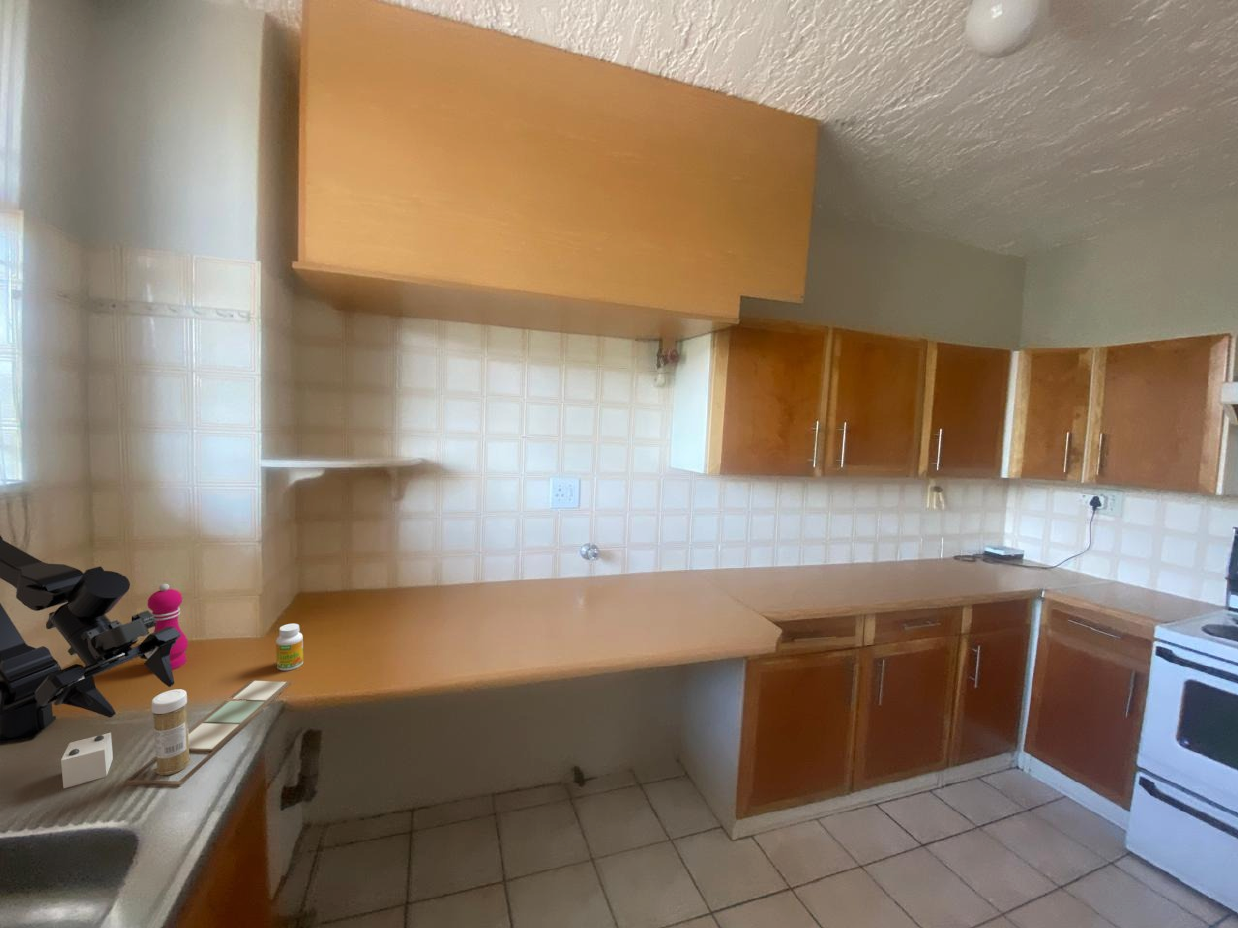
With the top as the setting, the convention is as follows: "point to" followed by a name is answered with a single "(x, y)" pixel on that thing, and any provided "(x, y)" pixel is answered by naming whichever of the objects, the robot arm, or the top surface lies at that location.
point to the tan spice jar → (171, 731)
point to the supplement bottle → (289, 647)
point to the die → (87, 760)
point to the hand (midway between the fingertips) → (144, 699)
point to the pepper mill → (169, 620)
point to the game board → (221, 725)
